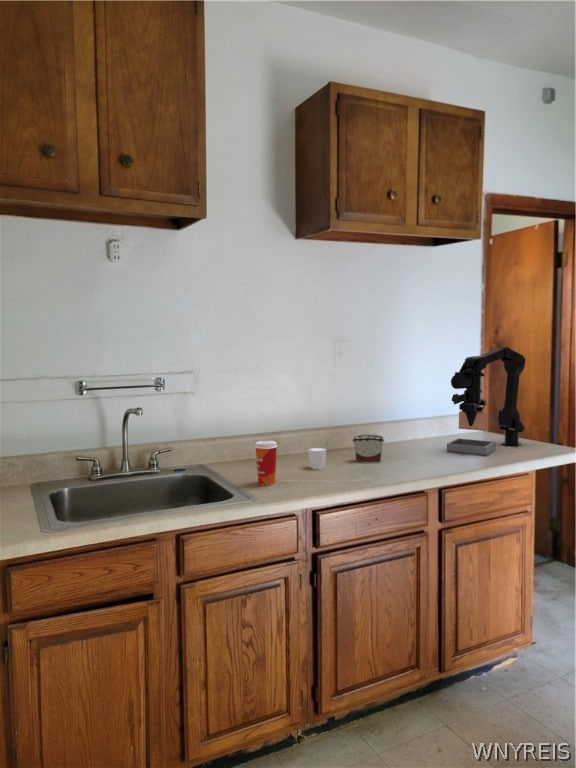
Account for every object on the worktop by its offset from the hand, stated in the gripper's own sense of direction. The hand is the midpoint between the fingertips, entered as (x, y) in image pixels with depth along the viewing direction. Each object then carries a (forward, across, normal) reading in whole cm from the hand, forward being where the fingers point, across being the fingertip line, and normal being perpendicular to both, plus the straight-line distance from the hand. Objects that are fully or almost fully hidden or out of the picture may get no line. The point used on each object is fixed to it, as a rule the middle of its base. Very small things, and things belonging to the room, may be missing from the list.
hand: (472, 424), depth 239 cm
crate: (+11, 0, 0) cm, 11 cm away
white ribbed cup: (+12, +57, -41) cm, 72 cm away
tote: (+2, 0, 0) cm, 2 cm away
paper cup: (+12, +85, -45) cm, 97 cm away
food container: (+12, +38, -30) cm, 49 cm away
